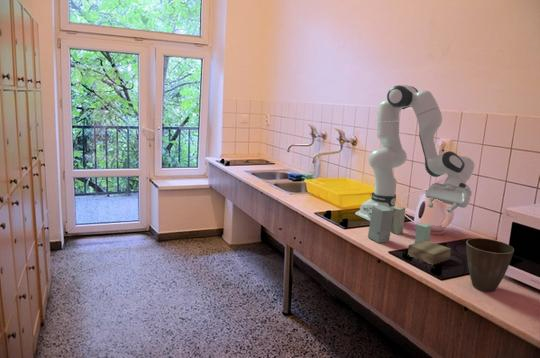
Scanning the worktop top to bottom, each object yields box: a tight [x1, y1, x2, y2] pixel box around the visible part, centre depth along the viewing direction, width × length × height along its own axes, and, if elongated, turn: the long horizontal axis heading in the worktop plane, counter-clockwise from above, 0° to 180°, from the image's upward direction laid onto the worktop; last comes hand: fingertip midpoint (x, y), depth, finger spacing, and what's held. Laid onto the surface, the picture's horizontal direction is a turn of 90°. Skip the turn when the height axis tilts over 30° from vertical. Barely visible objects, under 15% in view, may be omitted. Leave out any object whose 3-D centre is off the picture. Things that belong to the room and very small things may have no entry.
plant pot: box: [465, 237, 515, 293], centre depth 147 cm, size 15×15×16 cm
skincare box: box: [367, 205, 394, 244], centre depth 191 cm, size 8×7×16 cm
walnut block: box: [407, 240, 452, 266], centre depth 173 cm, size 12×12×5 cm
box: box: [390, 205, 406, 235], centre depth 202 cm, size 5×4×13 cm
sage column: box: [414, 222, 432, 243], centre depth 189 cm, size 4×4×9 cm
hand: (439, 209), depth 193 cm, fingers open, 8 cm apart
